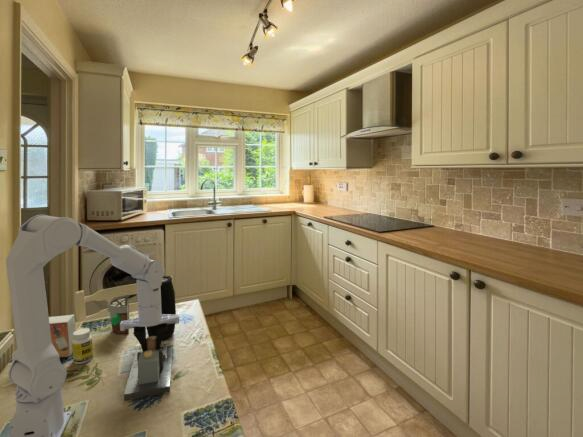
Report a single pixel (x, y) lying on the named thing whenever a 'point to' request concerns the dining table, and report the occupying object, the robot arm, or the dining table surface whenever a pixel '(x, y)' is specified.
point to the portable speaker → (166, 307)
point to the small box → (62, 333)
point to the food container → (119, 313)
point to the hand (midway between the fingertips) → (152, 350)
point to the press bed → (152, 388)
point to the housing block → (148, 367)
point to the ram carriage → (153, 349)
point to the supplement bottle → (82, 346)
